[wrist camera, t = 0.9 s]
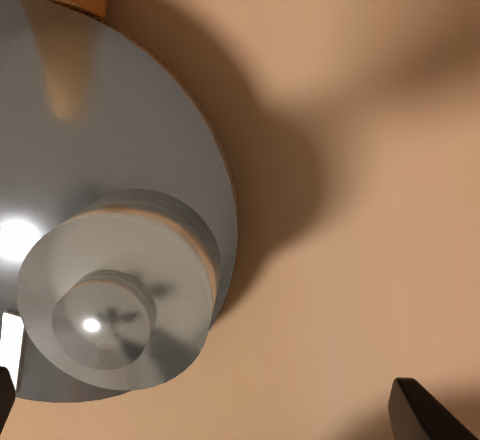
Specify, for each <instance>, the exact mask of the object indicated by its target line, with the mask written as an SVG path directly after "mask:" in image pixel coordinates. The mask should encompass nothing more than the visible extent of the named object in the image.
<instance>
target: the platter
mask: <svg viewBox="0 0 480 440" xmlns="http://www.w3.org/2000/svg"><path fill="white" fill-rule="evenodd" d="M49 1H50V2H49ZM52 2H53V3H52ZM55 3H56V4H55ZM58 4H60V5H58ZM61 5H63V6H67V7H70V8H73V9H77V10H80V11H83V12H87V13H90V14H94V15H97V16H100V17H104V18H105V12H106V5H107V0H46V1H45V0H0V366H5V367H7V368H8V370H9V372H10V375H11V378H12V381H13V384H14V387H15V391H16V397H18V398H23V399H28V400H34V401H44V402H54V403H58V402H85V401H93V400H101V399H105V398H109V397H113V396H117V395H121V394H124V393H127V392H129V391H132V390H113V389H106V388H101V387H97V386H94V385H91V384H87V383H85V382H82V381H80V380H78V379H76V378H74V377H72V376H70V375H68V374H67V373H65V372H63V371H62V370H61V369H59V368H58V367H56V366H55V365H54V364H53V363H51V362H50V361H49V360H48V359H47V358H46V357H45V356H44V355H43V354H42V353H41V352H40V351H39V350H38V348H37V347H36V346H35V344H34V343H33V342H32V340H31V339H30V337H29V335H28V333H27V332H26V330H25V328H24V325H23V323H22V320H21V318H20V314H19V310H18V306H17V297H16V290H17V280H18V275H19V271H20V268H21V265H22V263H23V261H24V259H25V257H26V255H27V254H28V252H29V251H30V249H31V248H32V247H33V246H34V244H35V243H36V242H37V241H38V240H39V239H41V238H42V237H43V236H44V235H45V234H47V233H48V232H50V231H51V230H53V229H54V228H56V227H57V226H59V225H60V224H62V223H63V222H65V221H66V220H68V219H69V218H71V217H72V216H74V215H75V214H77V213H78V212H80V211H81V210H83V209H84V208H86V207H87V206H89V205H91V204H92V203H94V202H95V201H97V200H98V199H100V198H102V197H104V196H106V195H108V194H110V193H114V192H117V191H121V190H127V189H148V190H154V191H158V192H162V193H165V194H168V195H170V196H172V197H175V198H177V199H179V200H180V201H182V202H184V203H185V204H187V205H188V206H189V207H191V208H192V209H193V210H194V211H195V212H197V213H198V214H199V216H200V217H201V218H202V219H203V220H204V221H205V222H206V224H207V225H208V227H209V228H210V230H211V232H212V233H213V235H214V237H215V239H216V242H217V245H218V248H219V252H220V257H221V277H220V281H219V286H218V290H217V295H216V299H215V304H214V308H213V313H212V317H211V321H210V326H209V330H210V328H211V326H212V325H213V323H214V321H215V319H216V317H217V316H218V314H219V312H220V310H221V308H222V305H223V303H224V300H225V297H226V295H227V292H228V290H229V287H230V282H231V278H232V273H233V269H234V264H235V259H236V253H237V243H238V230H239V219H238V202H237V196H236V191H235V186H234V181H233V175H232V172H231V169H230V166H229V163H228V160H227V157H226V154H225V151H224V148H223V146H222V144H221V142H220V140H219V138H218V136H217V134H216V132H215V130H214V128H213V126H212V124H211V122H210V120H209V119H208V117H207V116H206V114H205V113H204V111H203V110H202V108H201V106H200V105H199V103H198V102H197V100H196V99H195V97H194V96H193V95H192V94H191V93H190V91H189V90H188V89H187V88H186V87H185V86H184V84H183V83H182V82H181V81H180V80H179V79H178V77H177V76H176V75H175V74H174V73H173V72H172V71H171V70H170V69H169V68H167V67H166V66H165V65H164V64H163V63H162V62H161V61H160V60H159V59H158V58H157V57H155V56H154V55H153V54H152V53H151V52H149V51H148V50H147V49H145V48H144V47H142V46H141V45H139V44H138V43H137V42H135V41H134V40H132V39H131V38H130V37H128V36H127V35H125V34H123V33H121V32H119V31H117V30H115V29H114V28H112V27H110V26H108V25H106V24H104V23H102V22H100V21H98V20H96V19H94V18H91V17H89V16H87V15H84V14H82V13H79V12H77V11H74V10H71V9H69V8H66V7H63V6H61ZM209 330H208V331H209Z"/></svg>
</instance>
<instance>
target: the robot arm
mask: <svg viewBox="0 0 480 440" xmlns="http://www.w3.org/2000/svg"><path fill="white" fill-rule="evenodd" d="M15 397H16V391H15V387H14V384H13V381H12V378H11V375H10V372H9V370H8V368H7V367H5V366H0V434H1V432H2V430H3V427H4V425H5V423H6V420H7V418H8V416H9V413H10V411H11V408H12V406H13V404H14V401H15ZM388 410H389V416H390V420H391V425H392V429H393V434H394V438H395V440H479V439H478V438H477V437H476V436H474V435H473V434H472V433H471V432H470V431H469V430H468V429H467V428H466V427H465V426H464V425H463V424H462V423H461V422H460V421H459V420H458V419H457V418H455V417H454V416H453V415H452V414H451V413H450V412H449V411H448V410H447V409H446V408H445V407H444V406H443V405H442V404H441V403H440V402H439V401H438V400H436V399H435V398H434V397H433V396H432V395H431V394H430V393H429V392H428V391H427V390H426V389H425V388H424V387H423V386H422V385H421V384H420V383H419V382H417V381H416V380H415V379H413V378H395V379H394V381H393V385H392V389H391V394H390V398H389V403H388Z"/></svg>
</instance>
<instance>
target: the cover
mask: <svg viewBox="0 0 480 440" xmlns="http://www.w3.org/2000/svg"><path fill="white" fill-rule="evenodd" d="M220 277H221V257H220V252H219V248H218V245H217V242H216V239H215V237H214V235H213V233H212V232H211V230H210V228H209V227H208V225H207V224H206V222H205V221H204V220H203V219H202V218H201V217H200V216H199V214H198V213H197V212H195V211H194V210H193V209H192V208H191V207H189V206H188V205H187V204H185V203H184V202H182V201H180V200H179V199H177V198H175V197H172V196H170V195H168V194H165V193H162V192H158V191H154V190H148V189H127V190H121V191H117V192H114V193H110V194H108V195H106V196H104V197H102V198H100V199H98V200H97V201H95V202H94V203H92V204H91V205H89V206H87V207H86V208H84V209H83V210H81V211H80V212H78V213H77V214H75V215H74V216H72V217H71V218H69V219H68V220H66V221H65V222H63V223H62V224H60V225H59V226H57V227H56V228H54V229H53V230H51V231H50V232H48V233H47V234H45V235H44V236H43V237H42V238H41V239H39V240H38V241H37V242H36V243H35V244H34V246H33V247H32V248H31V249H30V251H29V252H28V254H27V255H26V257H25V259H24V261H23V263H22V265H21V268H20V271H19V275H18V280H17V290H16V297H17V306H18V310H19V314H20V318H21V320H22V323H23V325H24V328H25V330H26V332H27V333H28V335H29V337H30V339H31V340H32V342H33V343H34V344H35V346H36V347H37V348H38V350H39V351H40V352H41V353H42V354H43V355H44V356H45V357H46V358H47V359H48V360H49V361H50V362H51V363H53V364H54V365H55V366H56V367H58V368H59V369H61V370H62V371H63V372H65V373H67V374H68V375H70V376H72V377H74V378H76V379H78V380H80V381H82V382H85V383H87V384H91V385H94V386H97V387H101V388H106V389H113V390H139V389H146V388H150V387H154V386H157V385H160V384H162V383H165V382H167V381H169V380H171V379H173V378H175V377H176V376H177V375H179V374H180V373H182V372H183V371H184V370H185V369H186V368H187V367H189V366H190V365H191V364H192V362H193V361H194V360H195V359H196V357H197V356H198V355H199V353H200V351H201V349H202V348H203V346H204V343H205V340H206V338H207V335H208V330H209V326H210V321H211V317H212V313H213V308H214V304H215V299H216V295H217V290H218V286H219V281H220Z"/></svg>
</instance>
